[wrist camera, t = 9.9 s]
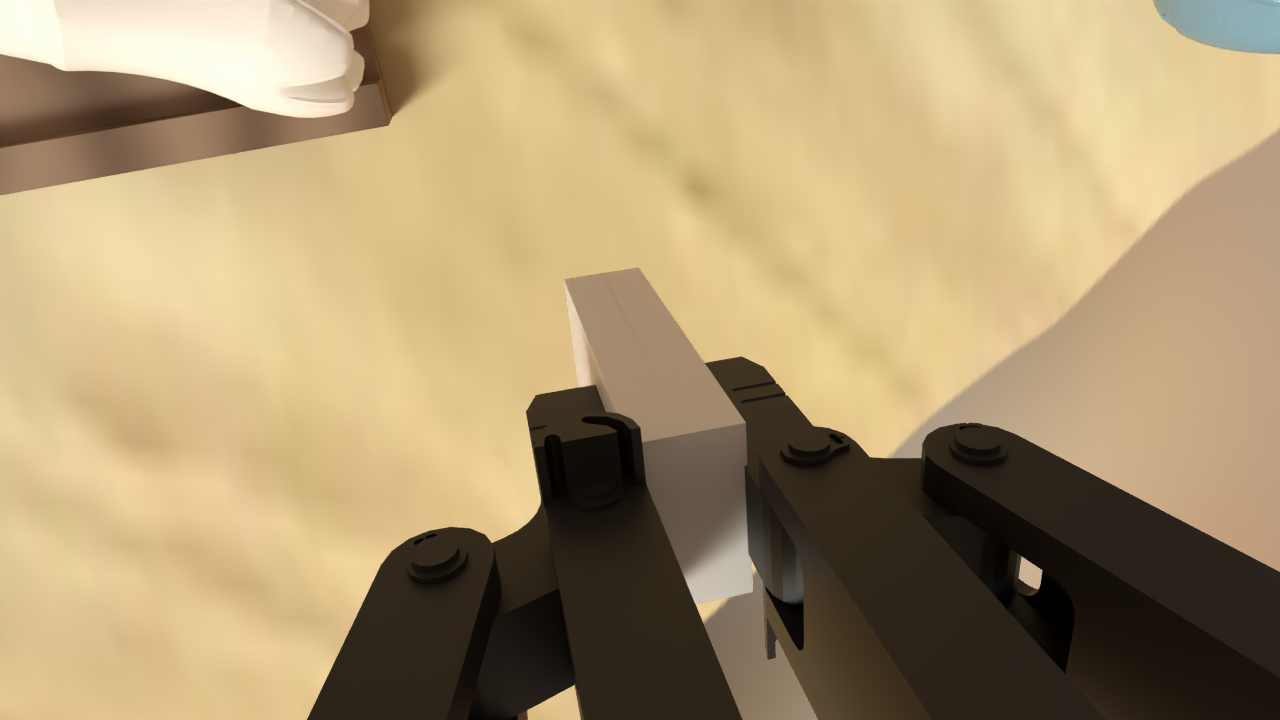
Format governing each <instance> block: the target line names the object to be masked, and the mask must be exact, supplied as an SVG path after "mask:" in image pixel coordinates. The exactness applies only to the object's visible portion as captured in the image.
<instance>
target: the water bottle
mask: <svg viewBox="0 0 1280 720" xmlns="http://www.w3.org/2000/svg"><path fill="white" fill-rule="evenodd" d="M369 16H370V14H369V0H0V54H2V55H7V56H12V57H17V58H22V59H27V60H32V61H37V62H42V63H47V64H51V65H52V66H54V67H56V68H58V69H60V70H63V71H104V72H119V73H128V74H136V75H143V76H149V77H155V78H160V79H166V80H170V81H174V82H178V83H183V84H187V85H190V86H193V87H197V88H200V89H203V90H206V91H209V92H212V93H215V94H217V95H220V96H222V97H225V98H228V99H230V100H233V101H235V102H237V103H239V104H242V105H244V106H246V107H249V108H251V109H254V110H259V111H264V112H269V113H274V114H279V115H284V116H291V117H299V118H317V117H326V116H332V115H337V114H341V113H344V112H347V111H349V110H350V109H351V107H352V106H353V104H354V93H353V92H354V91H356V90H357V88H358V86H359V85H360V83H361V81H362V78H363V72H364V67H365V66H364V58H363V57H362V56H361V55H360V54H359V53H358V52H357V51H355V50H353V49H354V44H353V39H352V35H351V34H350V33H349V31H352V30H354V29H357V28H360V27H363V26H364V25H365V24H366V23H367V22H368V20H369Z"/></svg>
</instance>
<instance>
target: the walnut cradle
mask: <svg viewBox="0 0 1280 720" xmlns="http://www.w3.org/2000/svg"><path fill="white" fill-rule="evenodd" d="M349 33H350V34H351V35H352V39H353V44H354V49H353V50H355V51H357V52H358V53H359V54H360V55H361V56H362V57H363V58H364V66H365V67H364V72H363V78H362V81H361V83H360V85H359V86H358V88H357V90H356V91H354V92H353V93H354V104H353V106H352V107H351V109H350V110H349V111H347V112H344V113H341V114H337V115H332V116H326V117H317V118H299V117H291V116H284V115H279V114H274V113H269V112H264V111H259V110H254V109H251V108H249V107H246V106H244V105H242V104H239V103H237V102H235V101H233V100H230V99H228V98H225V97H222V96H220V95H217V94H215V93H212V92H209V91H206V90H203V89H200V88H197V87H193V86H190V85H187V84H183V83H178V82H174V81H170V80H166V79H160V78H155V77H149V76H143V75H136V74H128V73H119V72H104V71H63V70H60V69H58V68H56V67H54V66H52V65H51V64H47V63H42V62H37V61H32V60H27V59H22V58H17V57H12V56H7V55H2V54H0V195H5V194H10V193H16V192H21V191H27V190H33V189H38V188H44V187H49V186H55V185H60V184H66V183H71V182H77V181H83V180H88V179H94V178H99V177H105V176H110V175H116V174H121V173H127V172H133V171H138V170H144V169H149V168H155V167H160V166H166V165H172V164H177V163H183V162H188V161H194V160H199V159H205V158H210V157H216V156H222V155H227V154H233V153H238V152H244V151H249V150H255V149H261V148H266V147H272V146H277V145H283V144H288V143H294V142H299V141H305V140H311V139H316V138H322V137H327V136H333V135H338V134H344V133H350V132H355V131H361V130H366V129H372V128H377V127H383V126H388V125H389V124H390V121H391V119H392V114H391V110H390V107H389V103H388V99H387V96H386V92H385V88H384V84H383V81H382V77H381V73H380V69H379V66H378V62H377V58H376V54H375V51H374V47H373V43H372V40H371V36H370V32H369V28H368V25H367V23H366V24H365V25H364V26H363V27H360V28H357V29H354V30H352V31H349Z"/></svg>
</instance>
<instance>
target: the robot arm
mask: <svg viewBox="0 0 1280 720" xmlns="http://www.w3.org/2000/svg"><path fill="white" fill-rule="evenodd" d="M1153 1H1154V4H1155V7H1156V9H1157V11H1158V13H1159V15H1160V16H1161V18H1162V19H1163V20H1165V21H1166V22H1167V23H1169V24H1170V25H1171V26H1173V27H1175V29H1176V30H1177V32H1178V33H1180V34H1181V35H1183V36H1185V37H1187V38H1189V39H1192V40H1194V41H1196V42H1199V43H1202V44H1205V45H1208V46H1212V47H1217V48H1221V49H1226V50H1232V51H1239V52H1249V53H1261V54H1280V0H1153ZM564 284H565V291H566V298H567V306H568V313H569V320H570V327H571V335H572V342H573V349H574V356H575V364H576V371H577V378H578V385H579V388H573V389H568V390H562V391H556V392H551V393H545V394H539V395H536V396H535V398H534V399H533V401H532V403H531V404H530V406H529V408H528V409H527V411H526V414H527V420H528V426H529V432H530V438H531V443H532V449H533V455H534V461H535V467H536V473H537V478H538V484H539V490H540V496H541V505H540V507H539V509H538V511H537V513H536V515H535V516H534V517H533V518H532V519H531V520H530V522H529V523H527V524H526V525H525V526H523V527H522V528H521V529H519V530H518V531H516V532H514V533H513V534H511V535H509V536H507V537H505V538H503V539H500V540H498V541H496V542H493V543H491V542H490V540H489V539H488V538H487V537H486V535H485V534H482V533H480V532H477V531H475V530H473V529H470V528H457V527H448V528H442V529H437V530H431V531H428V532H425V533H423V534H420V535H418V536H415V537H413V538H410V539H408V540H407V541H405V542H404V543H403V544H401V545H400V546H398V547H397V548H395V549H394V550H393V551H391V553H390V554H389V555H388V557H387V558H386V559H385V561H384V562H383V563H382V565H381V566H380V568H379V570H378V573H377V575H376V577H375V579H374V581H373V583H372V585H371V587H370V589H369V591H368V593H367V595H366V598H365V600H364V602H363V604H362V606H361V608H360V610H359V612H358V614H357V616H356V618H355V621H354V623H353V625H352V627H351V629H350V631H349V633H348V635H347V637H346V639H345V641H344V644H343V646H342V648H341V650H340V652H339V654H338V656H337V658H336V660H335V662H334V664H333V667H332V669H331V671H330V673H329V675H328V677H327V679H326V681H325V683H324V685H323V687H322V689H321V692H320V694H319V696H318V698H317V700H316V702H315V704H314V706H313V708H312V710H311V712H310V715H309V717H308V719H307V720H528V717H527V710H528V709H530V708H532V707H534V706H536V705H538V704H540V703H542V702H543V701H545V700H547V699H549V698H551V697H553V696H555V695H556V694H558V693H560V692H562V691H564V690H566V689H568V688H570V687H571V686H573V685H575V690H576V695H577V701H578V706H579V712H580V717H581V720H742V718H741V716H740V713H739V710H738V708H737V705H736V703H735V700H734V698H733V696H732V693H731V691H730V688H729V686H728V683H727V681H726V678H725V676H724V673H723V671H722V669H721V666H720V664H719V661H718V659H717V656H716V654H715V651H714V649H713V647H712V644H711V641H710V639H709V637H708V634H707V632H706V629H705V627H704V624H703V622H702V619H701V617H700V614H699V612H698V610H697V607H696V604H700V603H705V602H709V601H714V600H718V599H723V598H727V597H732V596H736V595H741V594H745V593H750V592H753V584H752V583H753V582H752V562H753V564H754V565H755V567H756V569H757V571H758V573H759V575H760V577H761V579H762V580H763V597H764V622H765V623H764V625H765V648H766V653H767V658H768V659H773V658H775V657H776V654H775V642H776V640H777V639H778V641H779V643H780V645H781V646H782V649H783V650H784V653H785V655H786V656H787V659H788V661H789V662H790V665H791V666H792V668H793V670H794V672H795V674H796V676H797V678H798V680H799V682H800V684H801V686H802V688H803V690H804V692H805V694H806V696H807V698H808V700H809V702H810V704H811V706H812V708H813V710H814V712H815V714H816V716H817V718H818V720H1280V572H1278V571H1277V570H1275V569H1273V568H1271V567H1269V566H1267V565H1265V564H1263V563H1261V562H1259V561H1257V560H1256V559H1254V558H1252V557H1250V556H1248V555H1246V554H1244V553H1242V552H1240V551H1238V550H1236V549H1234V548H1233V547H1231V546H1229V545H1227V544H1225V543H1223V542H1221V541H1219V540H1217V539H1215V538H1213V537H1212V536H1210V535H1208V534H1206V533H1204V532H1202V531H1200V530H1198V529H1196V528H1194V527H1192V526H1190V525H1188V524H1187V523H1185V522H1183V521H1181V520H1179V519H1177V518H1175V517H1173V516H1171V515H1169V514H1167V513H1165V512H1164V511H1161V510H1160V509H1158V508H1156V507H1154V506H1152V505H1150V504H1148V503H1146V502H1144V501H1142V500H1141V499H1139V498H1137V497H1135V496H1133V495H1131V494H1129V493H1127V492H1125V491H1123V490H1121V489H1119V488H1117V487H1115V486H1114V485H1112V484H1110V483H1108V482H1106V481H1104V480H1102V479H1100V478H1098V477H1096V476H1095V475H1093V474H1091V473H1089V472H1087V471H1085V470H1083V469H1081V468H1079V467H1077V466H1075V465H1073V464H1071V463H1070V462H1068V461H1066V460H1064V459H1062V458H1060V457H1058V456H1056V455H1054V454H1052V453H1050V452H1049V451H1047V450H1045V449H1043V448H1041V447H1039V446H1037V445H1035V444H1033V443H1031V442H1029V441H1027V440H1026V439H1023V438H1022V437H1020V436H1018V435H1016V434H1013V433H1011V432H1008V431H1005V430H1003V429H1000V428H998V427H992V426H987V425H982V424H979V423H968V424H966V423H960V424H954V425H949V426H945V427H940V428H938V429H936V430H934V431H933V432H931V433H929V434H928V435H927V436H926V438H925V440H924V442H923V444H922V458H871V457H869V456H868V455H867V454H866V452H865V451H864V450H863V449H862V448H861V447H860V446H859V445H858V444H857V442H855V441H854V440H853V439H851V438H850V437H848V436H847V435H846V434H844V433H841V432H838V431H835V430H832V429H830V428H824V427H815V426H813V425H812V424H811V423H810V421H809V420H808V419H807V418H806V417H805V416H804V414H803V413H802V412H801V411H800V410H799V408H798V407H797V406H796V405H795V404H794V402H793V401H792V400H791V399H790V398H789V397H788V395H787V396H786V395H785V392H784V391H783V389H782V388H781V387H780V386H779V385H778V384H776V381H775V380H774V379H773V378H772V376H771V375H770V374H769V373H768V372H767V370H766V369H765V368H764V367H763V366H761V365H758V364H756V363H754V362H752V361H750V360H748V359H746V358H743V357H736V358H731V359H725V360H719V361H714V362H708V363H704V361H703V360H702V358H701V357H700V356H699V354H698V353H697V351H696V350H695V348H694V347H693V345H692V344H691V343H690V341H689V340H688V338H687V337H686V335H685V334H684V332H683V331H682V330H681V328H680V327H679V325H678V324H677V322H676V321H675V319H674V318H673V316H672V315H671V314H670V312H669V311H668V309H667V308H666V306H665V305H664V303H663V302H662V301H661V299H660V298H659V296H658V295H657V293H656V292H655V290H654V289H653V288H652V286H651V285H650V283H649V282H648V280H647V279H646V277H645V276H644V274H643V273H642V272H641V270H640V269H639V268H633V269H627V270H621V271H614V272H608V273H601V274H595V275H588V276H582V277H576V278H569V279H564ZM1021 556H1022V557H1024V558H1025V559H1027V560H1028V561H1030V562H1031V563H1033V564H1034V565H1036V566H1037V567H1038V568H1040V569H1042V570H1043V571H1042V579H1041V585H1040V588H1039V589H1035V588H1033V587H1031V586H1028V585H1027V584H1025V583H1024V582H1023V581H1021V580H1020V579H1018V578H1019V570H1020V562H1021Z"/></svg>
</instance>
